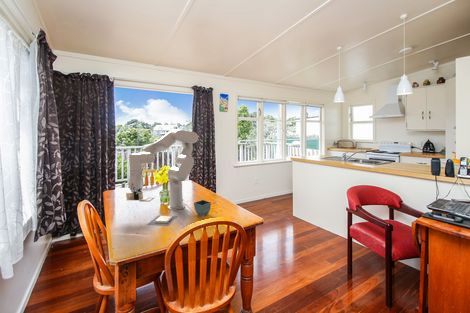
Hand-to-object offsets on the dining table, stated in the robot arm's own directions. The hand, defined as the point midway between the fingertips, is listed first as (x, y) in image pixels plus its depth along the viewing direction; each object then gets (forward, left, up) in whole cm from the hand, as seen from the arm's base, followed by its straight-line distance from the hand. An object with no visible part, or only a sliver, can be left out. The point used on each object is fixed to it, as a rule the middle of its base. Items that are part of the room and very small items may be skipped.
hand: (137, 198), depth 151 cm
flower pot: (-11, +41, -14) cm, 45 cm away
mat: (+3, +18, -13) cm, 23 cm away
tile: (+3, +15, -12) cm, 20 cm away
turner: (0, +1, -1) cm, 2 cm away
